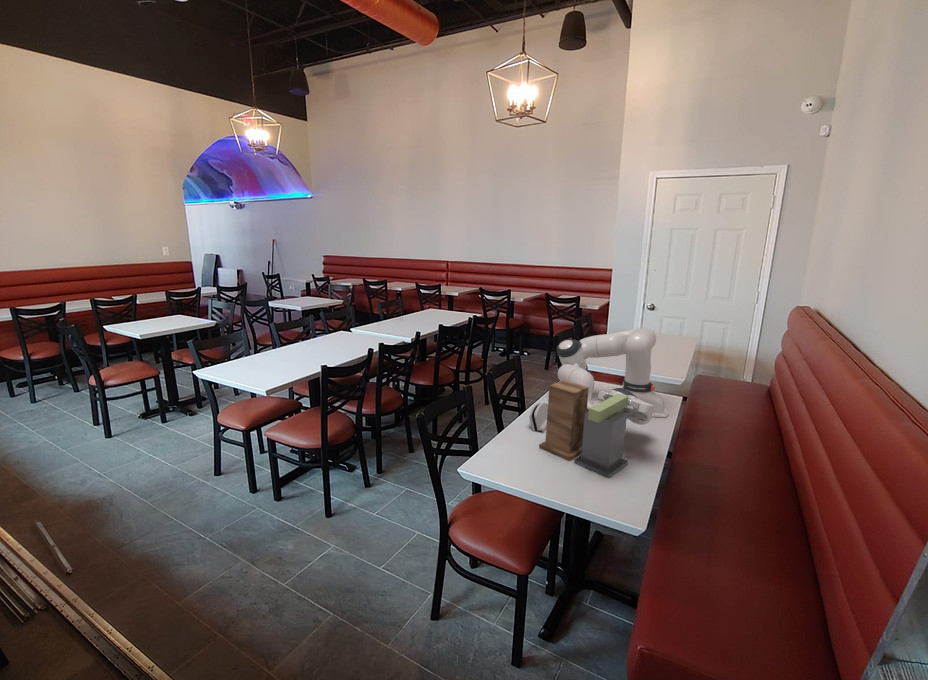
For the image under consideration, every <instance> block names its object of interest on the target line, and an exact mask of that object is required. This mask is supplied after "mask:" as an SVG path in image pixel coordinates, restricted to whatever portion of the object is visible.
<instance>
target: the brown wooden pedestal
mask: <svg viewBox="0 0 928 680" xmlns="http://www.w3.org/2000/svg"><path fill="white" fill-rule="evenodd" d="M588 391H589V387H587V386H584V385H580V384H577V383H573V382H570V381H567V380H562V381H560V380H559V381H558V382H555V383H552V384H550V385H549V386H548V400H547V401H548V402H547V405H548V413H547V428H546V431H545V441H543V442H541V443H539V444H538V448H539V449H541V450H543V451H546V452H548V453H550V454H552V455H554V456H557V457H558V458H561V459H563V460H565V461H568V462H571V461H572V460H575V459H576V458H578V457H579V456H581V453H582V441H583V430H584V419H585V413H586V412H587V402H588Z"/></svg>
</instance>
